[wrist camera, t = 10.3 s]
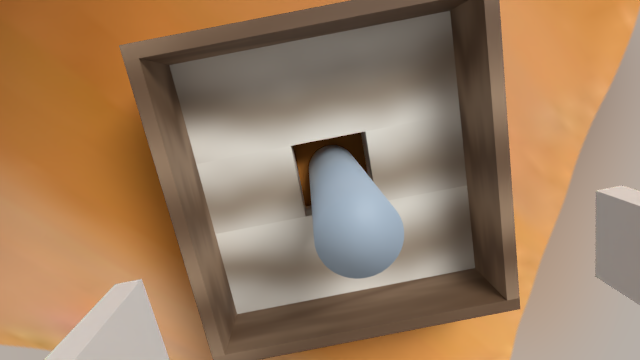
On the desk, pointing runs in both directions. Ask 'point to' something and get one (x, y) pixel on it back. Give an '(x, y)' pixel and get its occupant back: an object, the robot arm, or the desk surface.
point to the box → (323, 123)
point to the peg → (351, 216)
